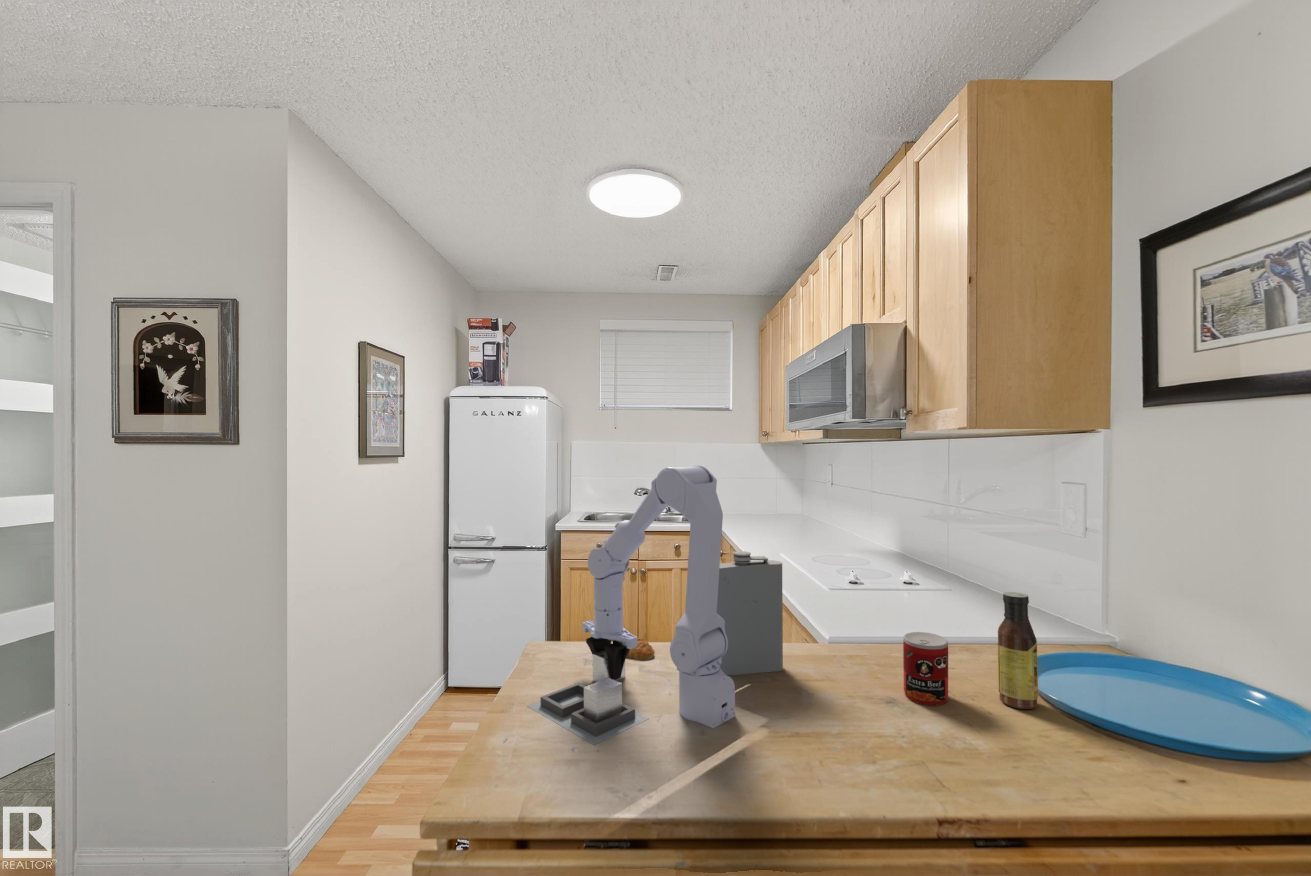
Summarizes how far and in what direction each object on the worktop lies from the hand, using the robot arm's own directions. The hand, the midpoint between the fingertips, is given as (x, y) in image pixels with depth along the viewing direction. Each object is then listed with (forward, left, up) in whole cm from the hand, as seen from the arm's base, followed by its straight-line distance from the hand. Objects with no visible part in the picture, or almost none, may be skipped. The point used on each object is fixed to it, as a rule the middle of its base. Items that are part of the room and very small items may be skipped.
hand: (609, 675), depth 117 cm
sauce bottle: (-60, -47, -2) cm, 76 cm away
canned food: (-47, -38, -2) cm, 60 cm away
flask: (-15, -24, -2) cm, 28 cm away
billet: (-13, +12, -1) cm, 17 cm away
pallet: (-8, +12, -2) cm, 15 cm away
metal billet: (0, 0, -1) cm, 1 cm away
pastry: (+8, -15, -2) cm, 17 cm away
